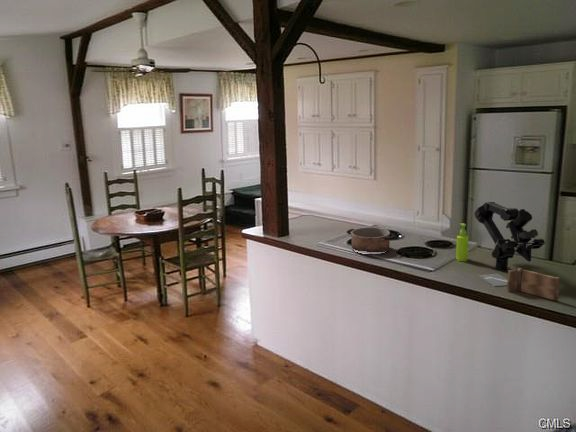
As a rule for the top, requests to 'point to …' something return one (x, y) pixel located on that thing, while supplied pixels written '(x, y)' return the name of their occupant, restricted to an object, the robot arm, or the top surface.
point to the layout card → (495, 279)
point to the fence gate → (540, 285)
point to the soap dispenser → (462, 245)
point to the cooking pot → (370, 239)
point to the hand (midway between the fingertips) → (529, 261)
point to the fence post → (514, 280)
